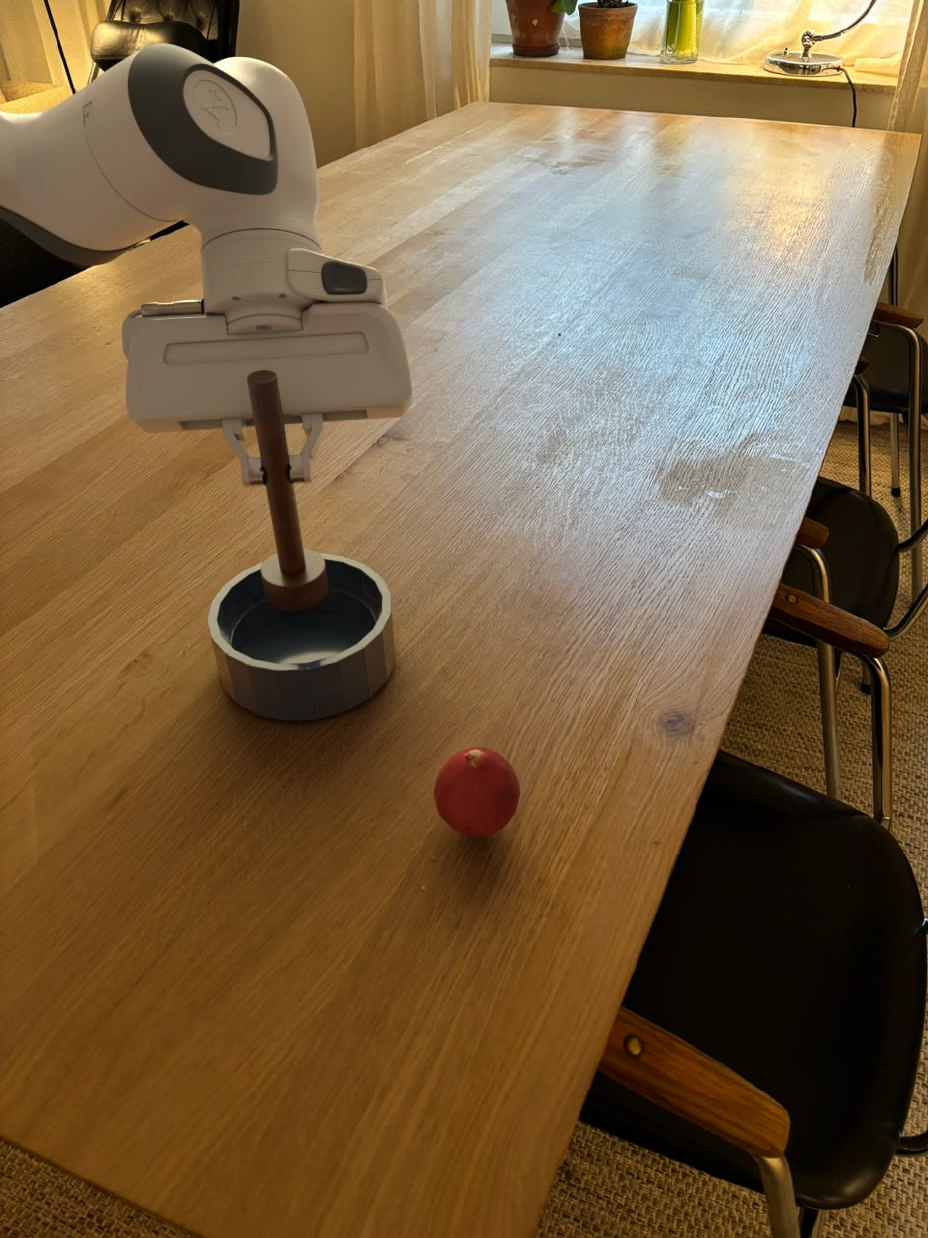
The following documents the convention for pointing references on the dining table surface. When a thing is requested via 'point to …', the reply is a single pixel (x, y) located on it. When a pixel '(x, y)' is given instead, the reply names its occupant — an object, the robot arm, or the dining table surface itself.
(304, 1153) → the dining table surface
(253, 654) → the bowl
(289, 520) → the upright rod on disc
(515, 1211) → the dining table surface
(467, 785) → the onion
